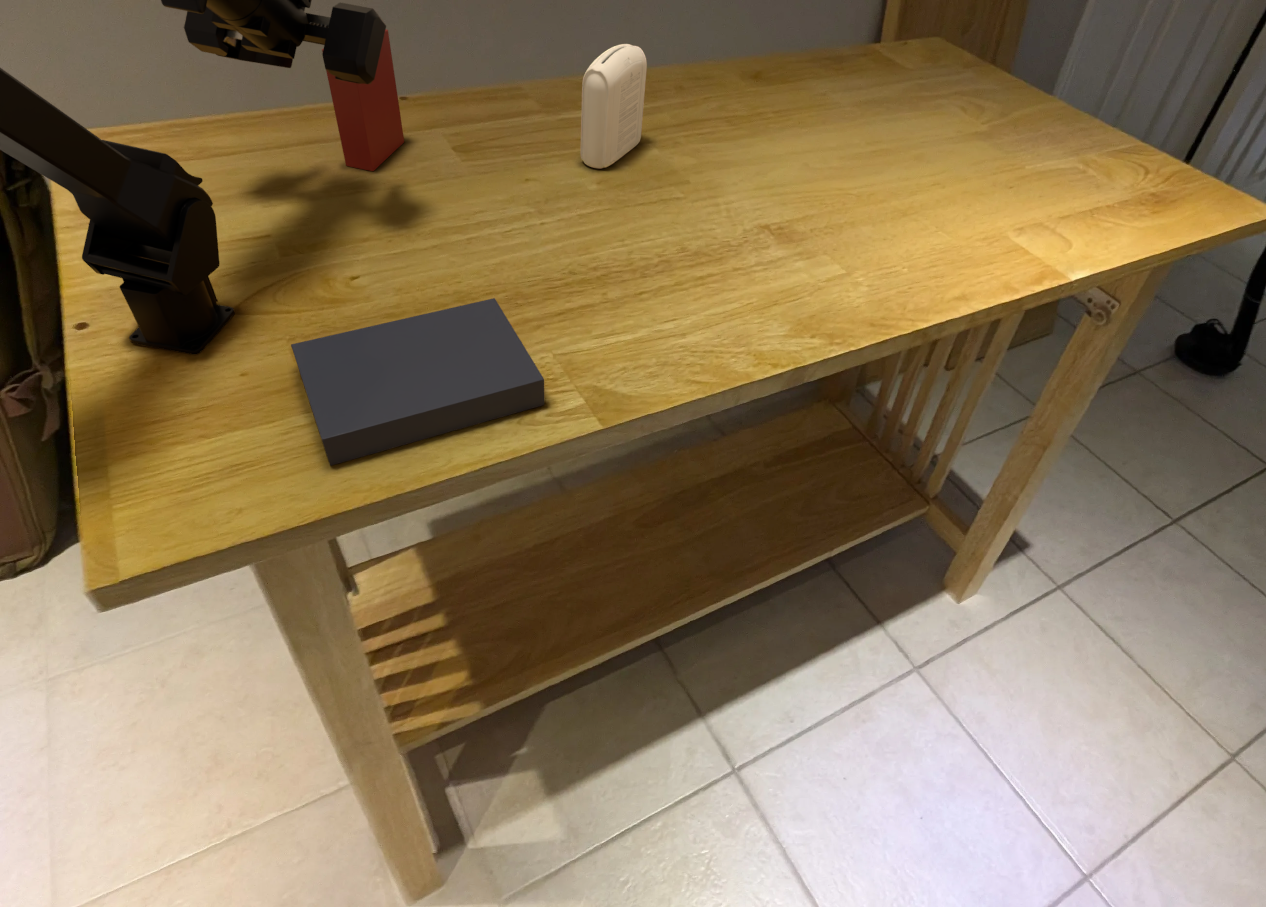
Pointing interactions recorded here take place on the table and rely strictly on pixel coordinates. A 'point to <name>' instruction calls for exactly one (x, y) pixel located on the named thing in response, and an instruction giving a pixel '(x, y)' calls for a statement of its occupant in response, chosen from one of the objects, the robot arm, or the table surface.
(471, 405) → the dark gray flat block
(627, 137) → the photo printer
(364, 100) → the small book
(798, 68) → the table surface
